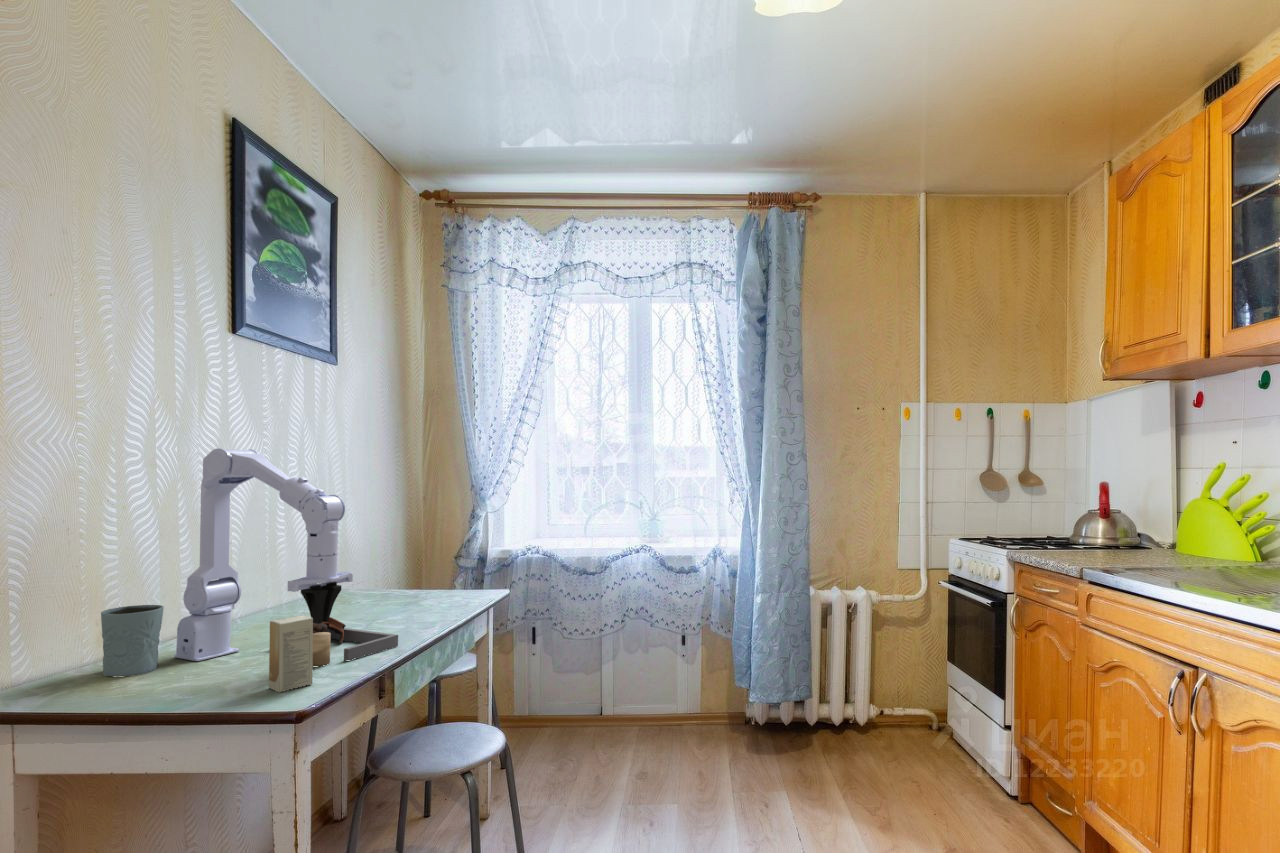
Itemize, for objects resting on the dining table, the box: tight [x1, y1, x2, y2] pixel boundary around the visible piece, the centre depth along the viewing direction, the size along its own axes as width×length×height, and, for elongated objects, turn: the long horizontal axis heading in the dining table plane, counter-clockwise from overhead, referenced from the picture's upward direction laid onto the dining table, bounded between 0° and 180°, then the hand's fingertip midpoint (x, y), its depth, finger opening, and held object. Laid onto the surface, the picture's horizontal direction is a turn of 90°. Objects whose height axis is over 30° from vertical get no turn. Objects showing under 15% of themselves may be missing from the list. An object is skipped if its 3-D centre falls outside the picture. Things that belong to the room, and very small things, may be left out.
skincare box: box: [268, 614, 314, 693], centre depth 130 cm, size 6×4×12 cm
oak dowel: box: [313, 632, 332, 667], centre depth 145 cm, size 4×4×6 cm
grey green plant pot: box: [100, 604, 165, 677], centre depth 140 cm, size 10×10×12 cm
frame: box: [326, 627, 399, 661], centre depth 158 cm, size 14×22×2 cm, turn 65°
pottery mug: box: [313, 616, 346, 645], centre depth 160 cm, size 12×10×8 cm
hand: (320, 622), depth 145 cm, fingers closed
